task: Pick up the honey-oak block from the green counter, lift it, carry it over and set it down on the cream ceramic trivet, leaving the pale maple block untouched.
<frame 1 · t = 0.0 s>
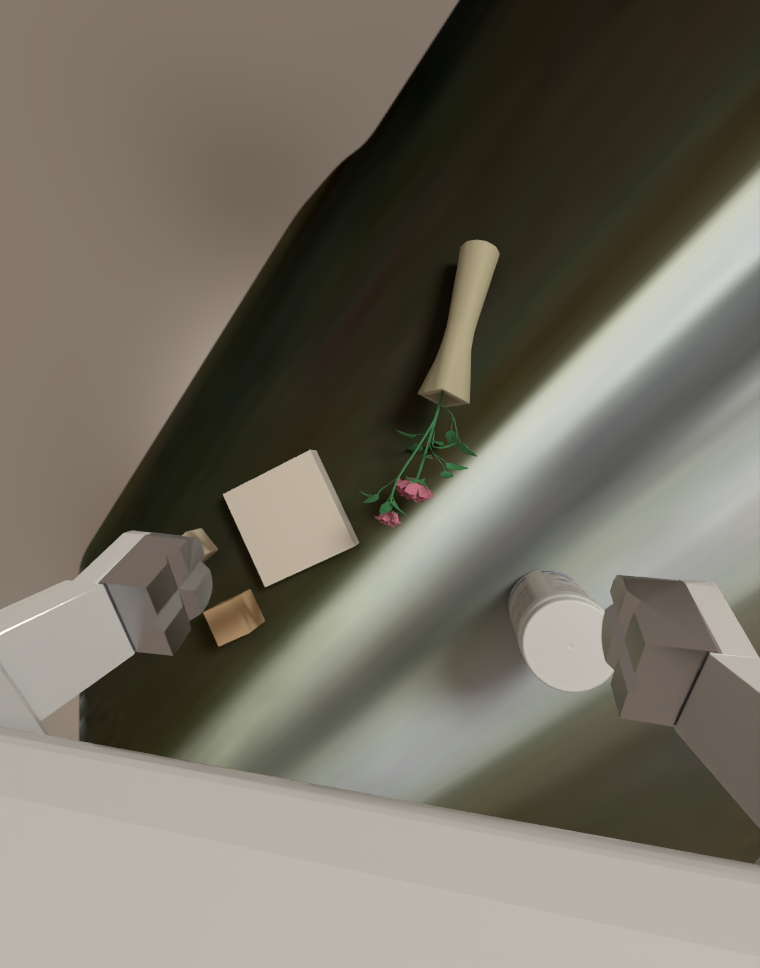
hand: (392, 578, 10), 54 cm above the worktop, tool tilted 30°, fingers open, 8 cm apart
supplement tub: (546, 603, 62), on the worktop
maple block: (200, 547, 70), on the worktop
trivet: (293, 517, 67), on the worktop
flower vase: (444, 392, 63), on the worktop
oak block: (243, 611, 70), on the worktop
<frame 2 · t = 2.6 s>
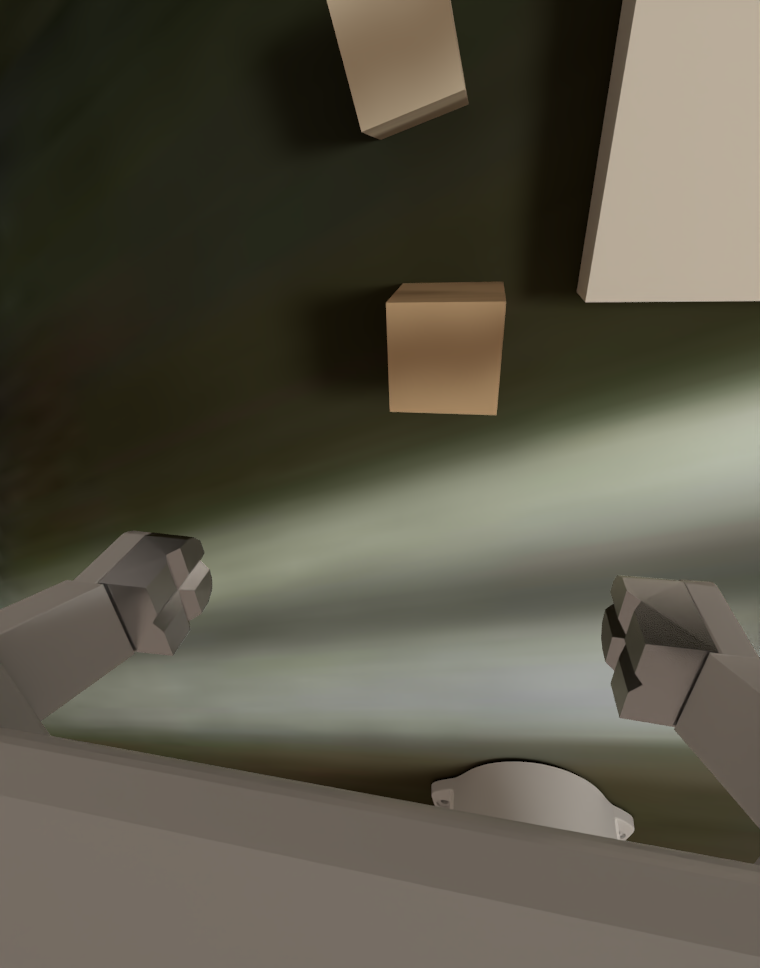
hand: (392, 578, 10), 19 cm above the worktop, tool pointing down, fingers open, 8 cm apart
maple block: (411, 66, 20), on the worktop
oak block: (450, 332, 26), on the worktop
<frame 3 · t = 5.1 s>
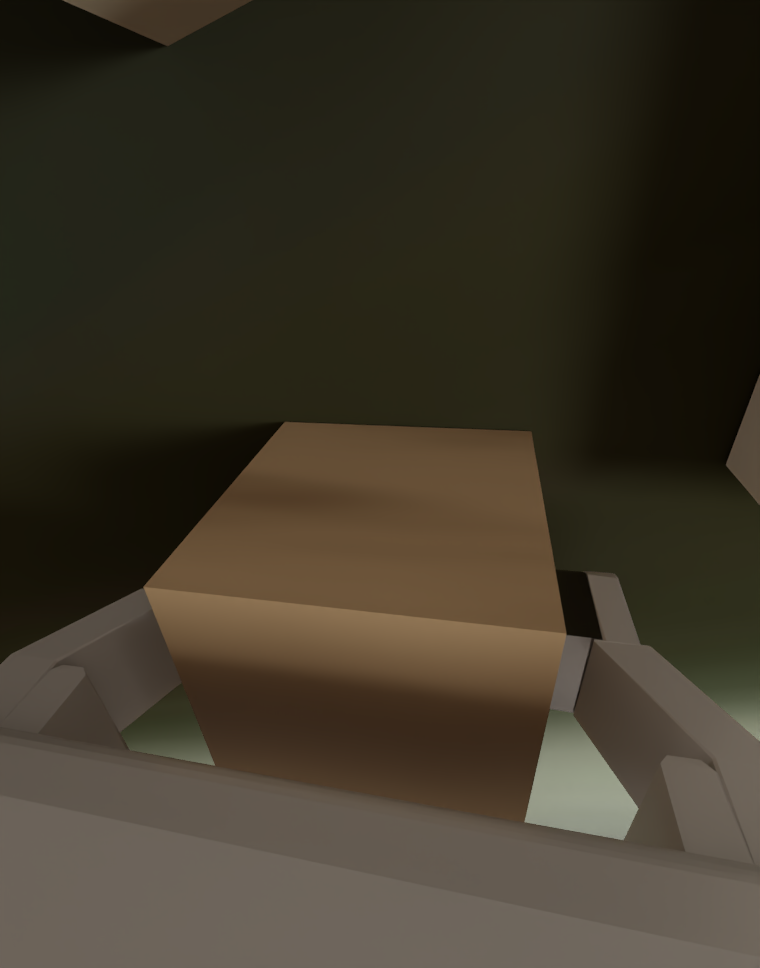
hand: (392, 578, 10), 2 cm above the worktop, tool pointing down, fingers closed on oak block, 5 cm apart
oak block: (404, 526, 11), on the worktop, touching gripper
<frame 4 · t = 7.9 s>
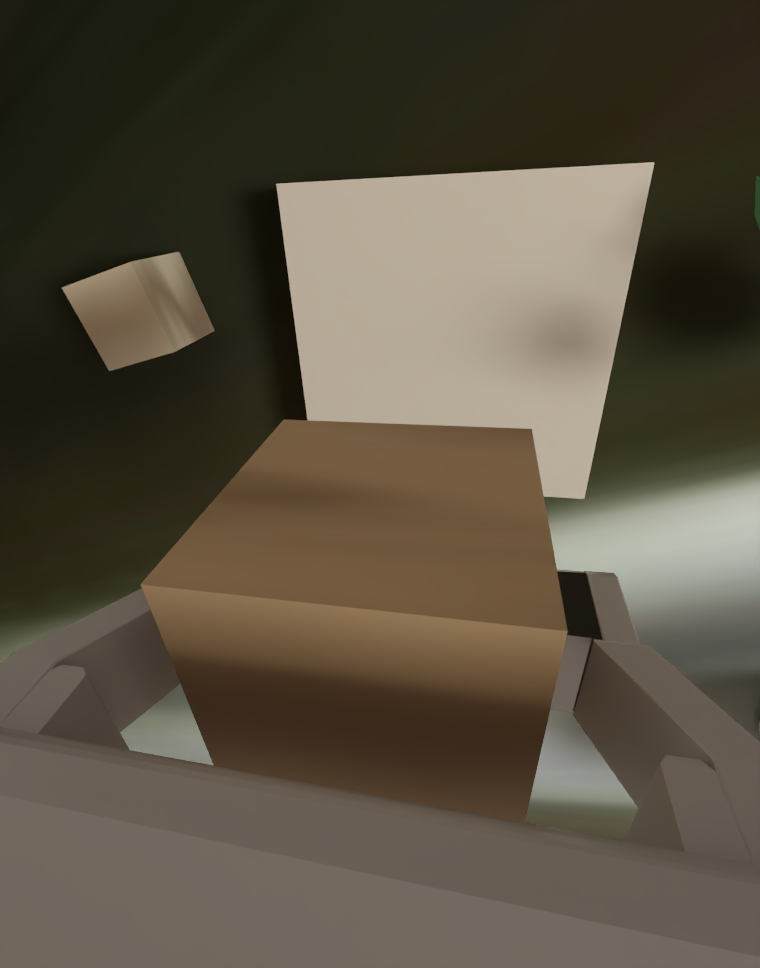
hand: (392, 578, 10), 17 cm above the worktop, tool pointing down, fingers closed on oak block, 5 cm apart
maple block: (167, 302, 26), on the worktop
trivet: (450, 343, 24), on the worktop
oak block: (404, 525, 11), point 15 cm above the worktop, touching gripper
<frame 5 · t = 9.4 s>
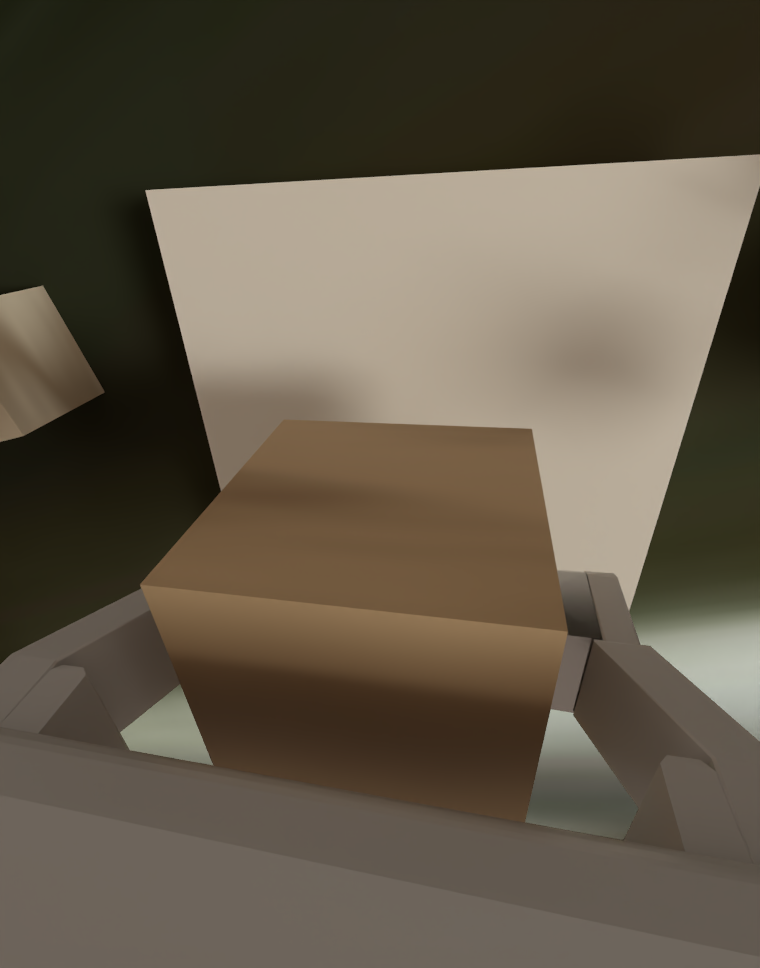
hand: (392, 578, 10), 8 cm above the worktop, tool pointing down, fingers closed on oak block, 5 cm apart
maple block: (37, 353, 18), on the worktop
trivet: (429, 417, 17), on the worktop
oak block: (404, 525, 11), point 7 cm above the worktop, touching gripper
when the fingers open (6 cm above the worktop, at t = 10.8 s): oak block drops 1 cm, resting on trivet.
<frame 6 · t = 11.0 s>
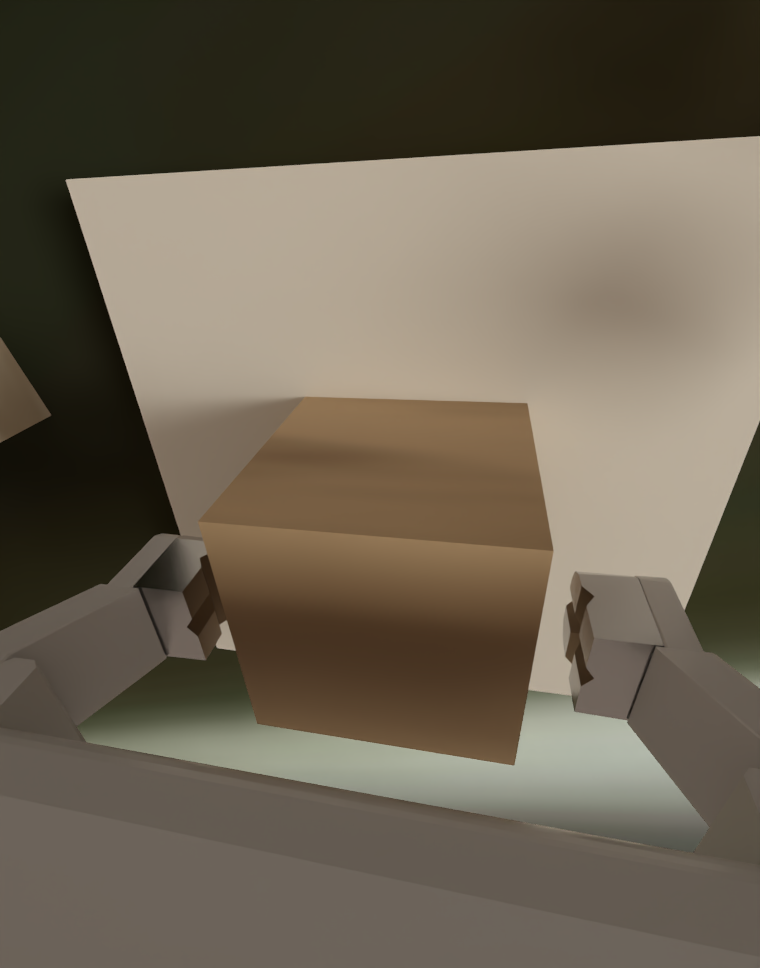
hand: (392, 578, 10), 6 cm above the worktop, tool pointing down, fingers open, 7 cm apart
trivet: (423, 448, 14), on the worktop
oak block: (412, 493, 12), point 2 cm above the worktop, touching trivet
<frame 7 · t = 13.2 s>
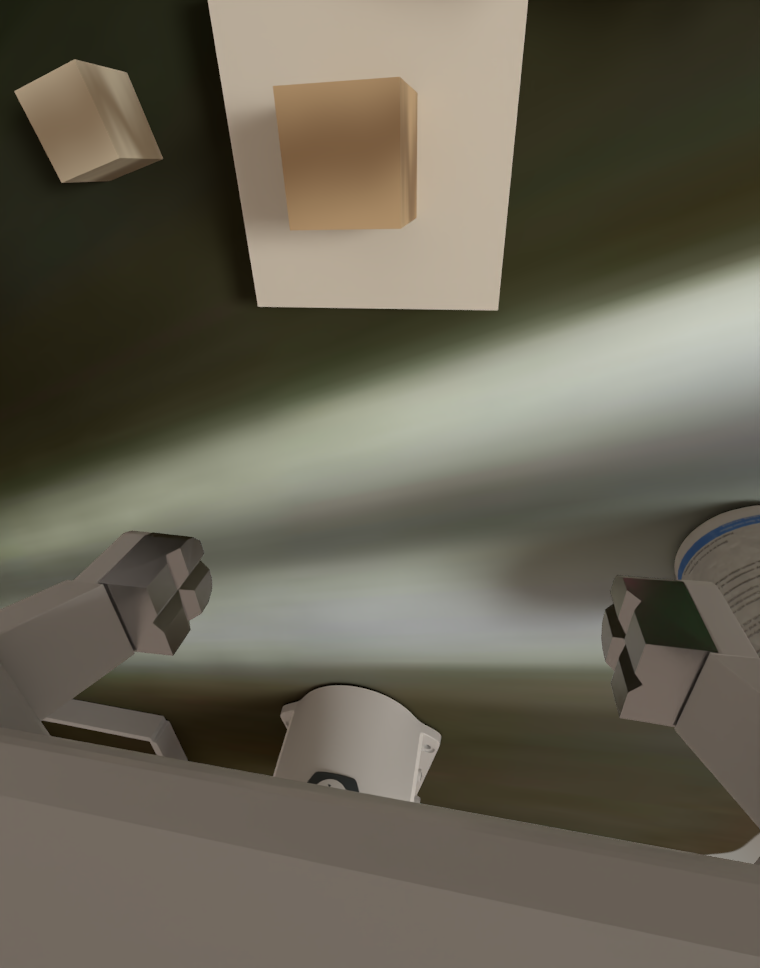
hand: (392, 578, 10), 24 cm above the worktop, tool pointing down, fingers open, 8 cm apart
supplement tub: (746, 551, 34), on the worktop
maple block: (118, 129, 28), on the worktop
trivet: (376, 161, 26), on the worktop
oak block: (366, 161, 24), point 2 cm above the worktop, touching trivet
grey tray rim: (116, 754, 75), on the worktop
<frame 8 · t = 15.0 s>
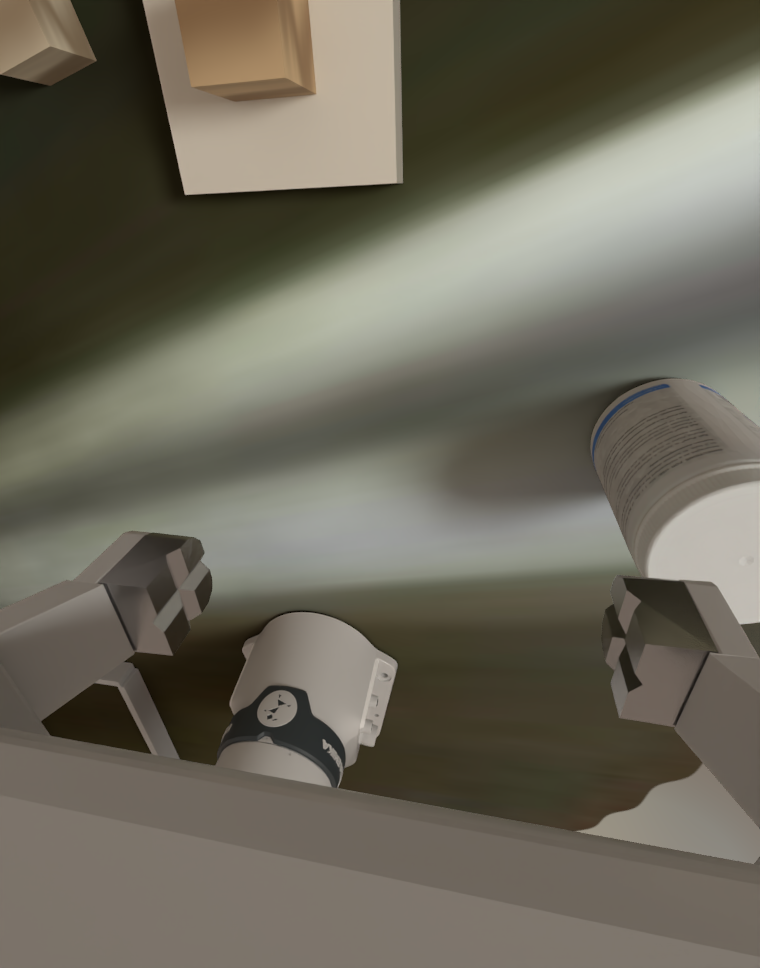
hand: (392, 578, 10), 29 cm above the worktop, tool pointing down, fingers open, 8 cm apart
supplement tub: (656, 433, 37), on the worktop
maple block: (55, 34, 31), on the worktop
trivet: (284, 51, 29), on the worktop
oak block: (267, 40, 27), point 2 cm above the worktop, touching trivet
grey tray rim: (89, 712, 76), on the worktop
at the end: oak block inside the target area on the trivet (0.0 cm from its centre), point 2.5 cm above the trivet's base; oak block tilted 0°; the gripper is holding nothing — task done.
